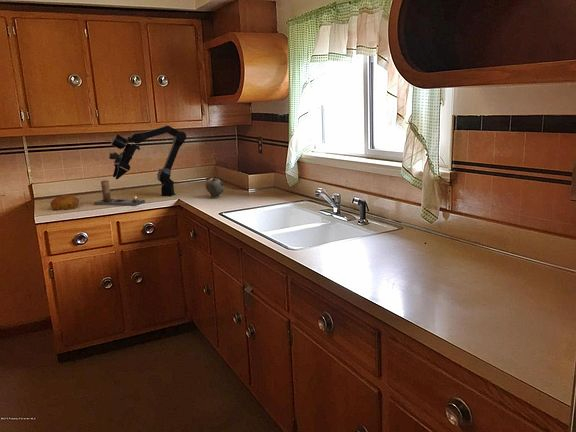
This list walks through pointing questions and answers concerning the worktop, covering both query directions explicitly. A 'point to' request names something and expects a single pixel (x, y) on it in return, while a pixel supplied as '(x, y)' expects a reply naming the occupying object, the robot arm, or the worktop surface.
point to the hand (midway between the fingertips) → (114, 178)
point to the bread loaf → (64, 202)
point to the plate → (121, 202)
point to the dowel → (106, 191)
